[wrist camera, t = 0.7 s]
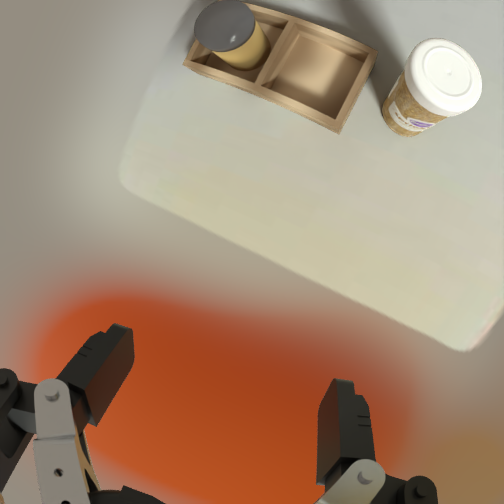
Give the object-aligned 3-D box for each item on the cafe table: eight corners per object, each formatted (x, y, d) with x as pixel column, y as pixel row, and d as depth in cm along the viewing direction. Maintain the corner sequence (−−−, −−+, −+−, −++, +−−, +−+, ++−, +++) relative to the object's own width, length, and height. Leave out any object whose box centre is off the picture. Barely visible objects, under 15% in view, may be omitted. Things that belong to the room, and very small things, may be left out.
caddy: (197, 73, 29) (182, 64, 26) (232, 11, 26) (220, -3, 23) (339, 134, 27) (338, 129, 24) (374, 63, 24) (378, 51, 21)
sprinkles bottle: (387, 139, 26) (422, 113, 13) (376, 92, 25) (399, 35, 13) (431, 135, 25) (492, 110, 12) (421, 89, 24) (470, 36, 11)
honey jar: (222, 34, 27) (194, 7, 21) (270, 26, 25) (251, -6, 19) (224, 75, 28) (194, 54, 22) (273, 68, 27) (254, 43, 20)
